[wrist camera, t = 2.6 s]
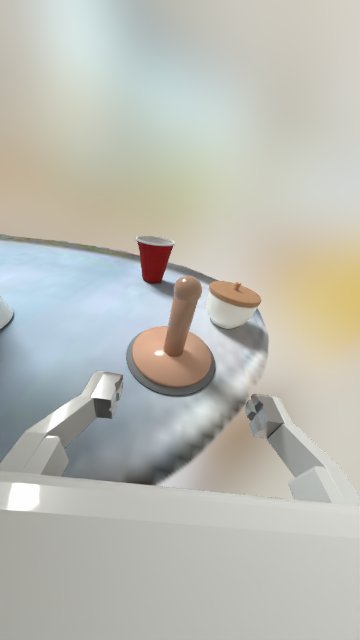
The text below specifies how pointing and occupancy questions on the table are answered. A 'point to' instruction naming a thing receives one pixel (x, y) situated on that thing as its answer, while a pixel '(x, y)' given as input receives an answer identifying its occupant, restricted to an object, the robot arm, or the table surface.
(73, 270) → the table surface
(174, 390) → the coaster
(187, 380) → the lid
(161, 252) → the plastic cup
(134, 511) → the robot arm
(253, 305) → the lidded jar
